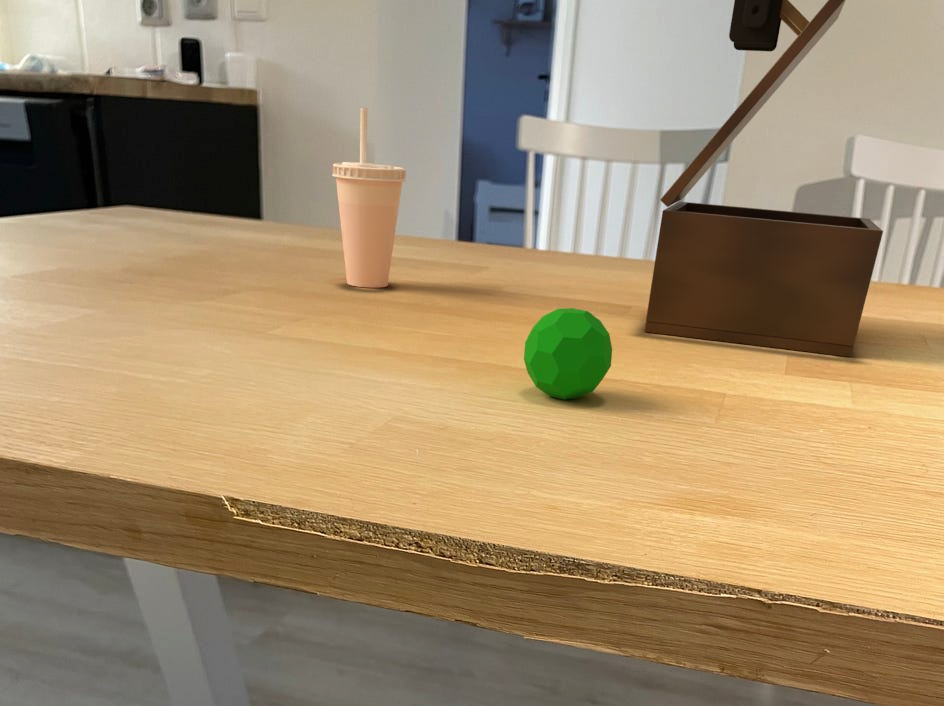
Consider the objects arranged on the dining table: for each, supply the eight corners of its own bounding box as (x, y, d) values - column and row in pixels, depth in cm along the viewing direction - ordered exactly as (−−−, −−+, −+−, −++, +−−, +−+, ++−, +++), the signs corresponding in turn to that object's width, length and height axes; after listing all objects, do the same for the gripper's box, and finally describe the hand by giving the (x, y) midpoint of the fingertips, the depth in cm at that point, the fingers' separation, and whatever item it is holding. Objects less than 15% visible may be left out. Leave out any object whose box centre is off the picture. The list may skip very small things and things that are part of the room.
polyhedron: (535, 380, 58) (544, 299, 56) (614, 393, 57) (625, 310, 54) (509, 398, 54) (517, 311, 52) (593, 412, 53) (605, 323, 50)
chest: (842, 329, 82) (869, 218, 78) (850, 357, 71) (883, 230, 67) (661, 308, 85) (678, 201, 81) (644, 332, 75) (662, 210, 71)
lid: (838, 17, 72) (788, -34, 72) (847, -4, 62) (789, -65, 61) (683, 198, 81) (637, 154, 80) (667, 207, 70) (614, 155, 70)
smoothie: (341, 276, 90) (342, 106, 83) (408, 282, 89) (414, 112, 82) (323, 285, 84) (323, 105, 77) (394, 292, 83) (400, 110, 77)
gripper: (881, -343, 53) (808, 37, 61) (860, -238, 67) (803, 57, 76) (744, -337, 55) (691, 33, 63) (752, -235, 69) (708, 53, 78)
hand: (753, 43), depth 70 cm, fingers closed on lid, 6 cm apart
